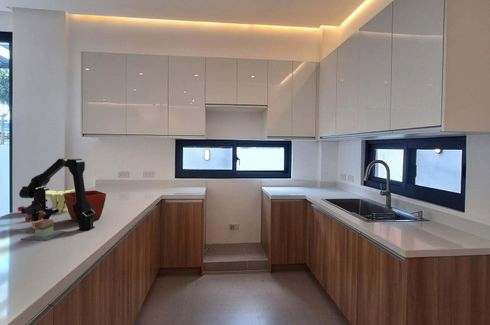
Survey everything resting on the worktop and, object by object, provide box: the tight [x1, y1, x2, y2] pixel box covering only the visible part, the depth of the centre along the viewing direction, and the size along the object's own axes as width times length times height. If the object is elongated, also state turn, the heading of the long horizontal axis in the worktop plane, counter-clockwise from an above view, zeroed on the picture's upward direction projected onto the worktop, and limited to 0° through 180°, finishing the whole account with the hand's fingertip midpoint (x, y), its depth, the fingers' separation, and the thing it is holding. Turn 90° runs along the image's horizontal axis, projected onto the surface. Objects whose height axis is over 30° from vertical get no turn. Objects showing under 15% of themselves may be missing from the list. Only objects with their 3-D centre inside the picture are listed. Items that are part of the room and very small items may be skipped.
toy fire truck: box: [17, 205, 44, 222], centre depth 184 cm, size 3×14×10 cm, turn 141°
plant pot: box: [64, 189, 107, 224], centre depth 188 cm, size 19×19×17 cm
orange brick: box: [31, 219, 43, 230], centre depth 170 cm, size 4×7×4 cm, turn 171°
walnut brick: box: [34, 218, 54, 231], centre depth 154 cm, size 4×7×4 cm, turn 176°
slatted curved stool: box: [36, 187, 75, 214], centre depth 212 cm, size 30×16×18 cm, turn 113°
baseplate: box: [20, 226, 67, 242], centre depth 155 cm, size 14×14×4 cm
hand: (40, 225), depth 171 cm, fingers closed on orange brick, 5 cm apart
